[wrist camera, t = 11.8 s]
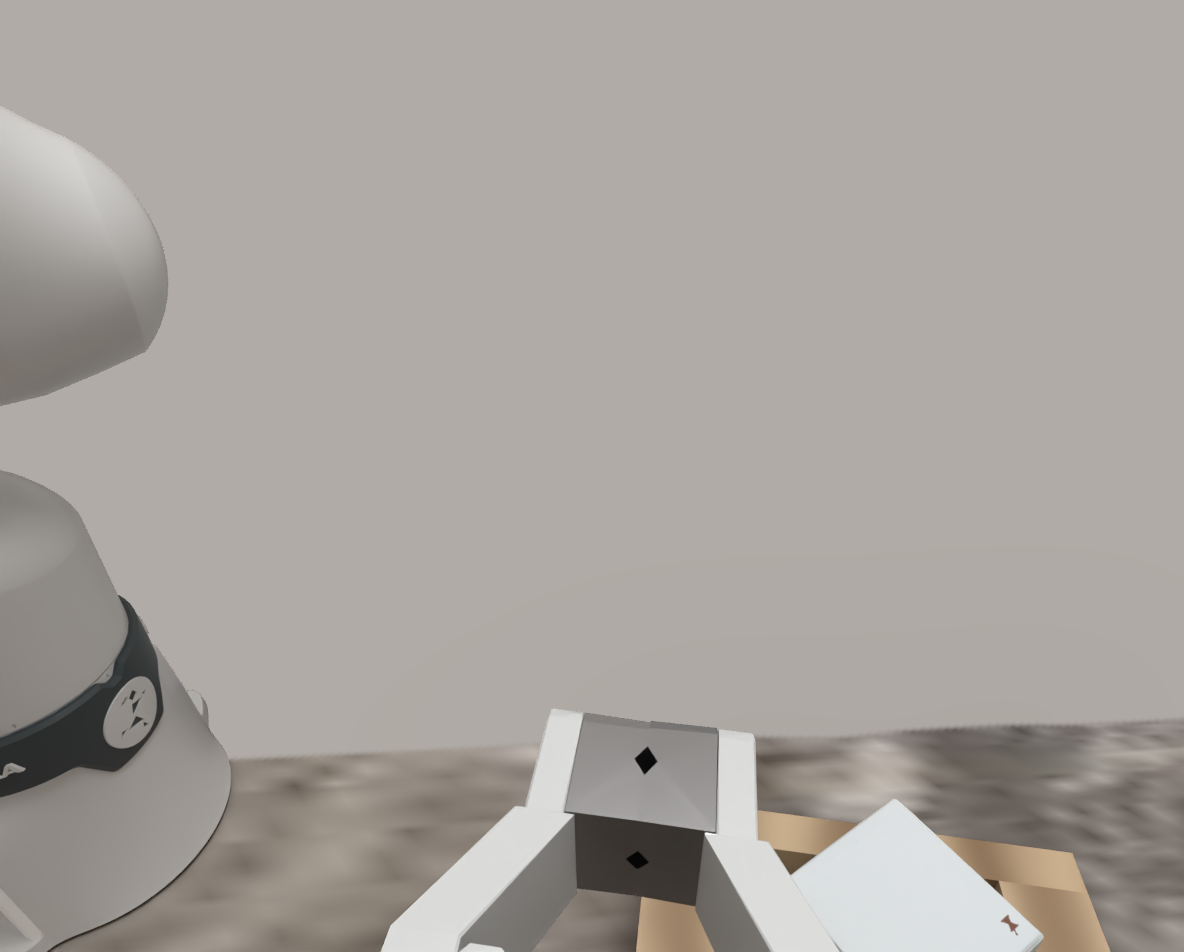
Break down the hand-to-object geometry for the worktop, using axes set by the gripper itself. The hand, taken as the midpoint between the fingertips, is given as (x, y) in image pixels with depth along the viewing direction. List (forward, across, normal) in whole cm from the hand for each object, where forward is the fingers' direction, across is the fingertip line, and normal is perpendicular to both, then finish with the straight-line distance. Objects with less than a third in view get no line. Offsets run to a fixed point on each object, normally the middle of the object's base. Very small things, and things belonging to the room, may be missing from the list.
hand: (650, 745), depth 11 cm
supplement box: (+10, -10, +34) cm, 37 cm away
